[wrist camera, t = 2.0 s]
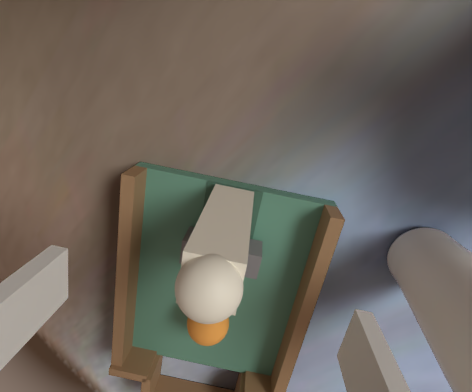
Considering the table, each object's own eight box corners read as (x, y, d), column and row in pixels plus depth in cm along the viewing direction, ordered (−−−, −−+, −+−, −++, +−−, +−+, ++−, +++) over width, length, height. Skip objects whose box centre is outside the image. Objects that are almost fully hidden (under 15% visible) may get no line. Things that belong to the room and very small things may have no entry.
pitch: (140, 161, 25) (118, 175, 21) (334, 201, 25) (346, 222, 21) (124, 372, 34) (107, 408, 30) (268, 403, 33) (269, 444, 30)
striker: (196, 178, 23) (135, 264, 12) (274, 194, 23) (282, 295, 12) (186, 247, 26) (127, 372, 15) (257, 262, 25) (251, 399, 14)
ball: (194, 288, 27) (185, 317, 24) (234, 296, 27) (230, 326, 24) (189, 319, 29) (179, 351, 25) (227, 327, 29) (222, 360, 25)
